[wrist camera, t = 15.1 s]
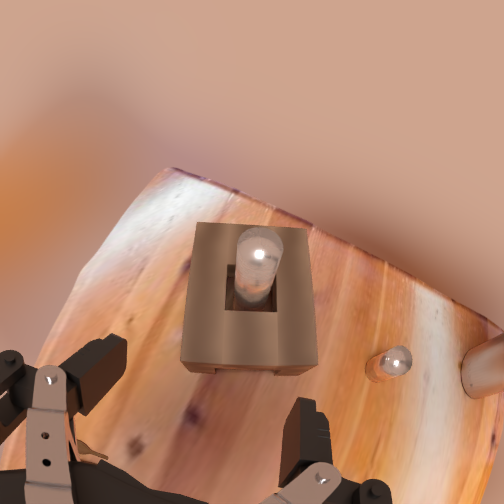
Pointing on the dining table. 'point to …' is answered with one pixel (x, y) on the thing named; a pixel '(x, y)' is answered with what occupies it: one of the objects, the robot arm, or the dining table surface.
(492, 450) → the dining table surface
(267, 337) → the block
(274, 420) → the dining table surface
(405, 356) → the short pin
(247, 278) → the long pin
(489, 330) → the dining table surface
